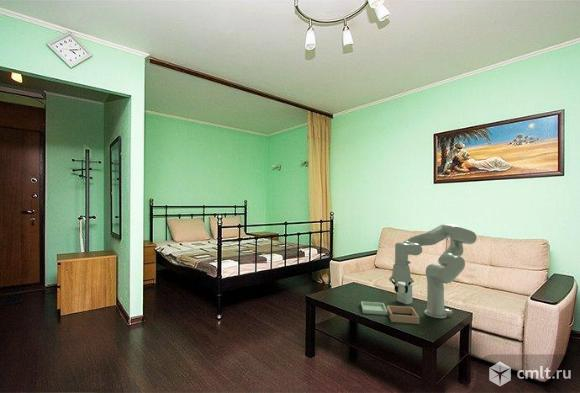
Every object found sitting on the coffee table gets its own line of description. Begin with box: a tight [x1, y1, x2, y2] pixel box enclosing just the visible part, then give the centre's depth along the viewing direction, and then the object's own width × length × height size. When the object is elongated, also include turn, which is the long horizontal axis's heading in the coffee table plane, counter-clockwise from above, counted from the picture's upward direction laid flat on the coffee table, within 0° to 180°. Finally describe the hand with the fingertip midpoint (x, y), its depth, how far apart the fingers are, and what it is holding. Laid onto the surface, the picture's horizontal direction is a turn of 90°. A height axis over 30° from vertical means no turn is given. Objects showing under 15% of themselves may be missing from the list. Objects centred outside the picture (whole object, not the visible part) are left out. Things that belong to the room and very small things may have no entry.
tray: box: [360, 300, 389, 316], centre depth 183 cm, size 15×15×2 cm
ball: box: [398, 285, 406, 293], centre depth 172 cm, size 5×5×5 cm
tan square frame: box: [386, 305, 420, 325], centre depth 171 cm, size 16×16×4 cm
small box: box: [396, 282, 413, 305], centre depth 198 cm, size 8×6×13 cm
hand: (401, 292), depth 172 cm, fingers closed on ball, 4 cm apart
